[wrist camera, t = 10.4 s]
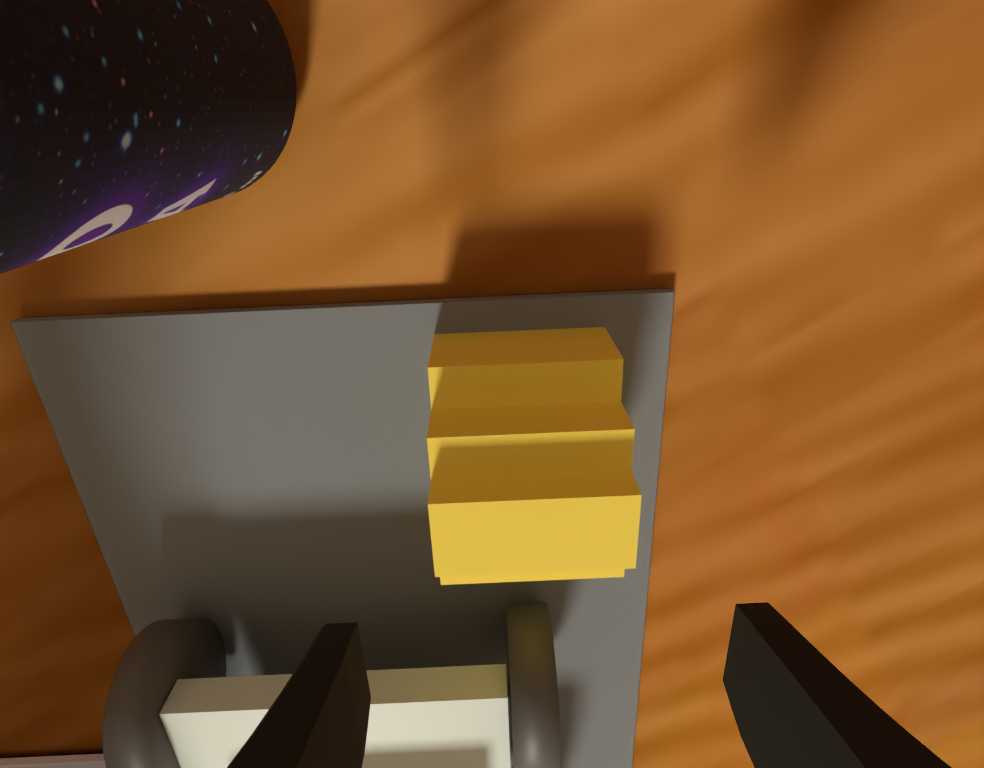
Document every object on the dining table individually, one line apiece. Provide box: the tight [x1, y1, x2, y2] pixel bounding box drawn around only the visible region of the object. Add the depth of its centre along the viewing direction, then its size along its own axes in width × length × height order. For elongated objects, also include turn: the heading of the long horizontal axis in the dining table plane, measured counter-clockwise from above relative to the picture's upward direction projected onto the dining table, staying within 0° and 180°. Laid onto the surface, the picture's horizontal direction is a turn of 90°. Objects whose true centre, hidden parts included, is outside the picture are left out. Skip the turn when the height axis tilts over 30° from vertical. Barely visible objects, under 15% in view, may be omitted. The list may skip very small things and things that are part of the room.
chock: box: [427, 327, 642, 585], centre depth 17 cm, size 5×7×5 cm
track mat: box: [10, 288, 674, 768], centre depth 22 cm, size 19×25×1 cm
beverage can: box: [0, 0, 296, 273], centre depth 9 cm, size 6×6×12 cm
